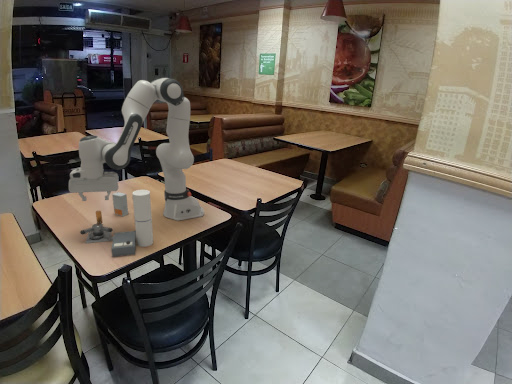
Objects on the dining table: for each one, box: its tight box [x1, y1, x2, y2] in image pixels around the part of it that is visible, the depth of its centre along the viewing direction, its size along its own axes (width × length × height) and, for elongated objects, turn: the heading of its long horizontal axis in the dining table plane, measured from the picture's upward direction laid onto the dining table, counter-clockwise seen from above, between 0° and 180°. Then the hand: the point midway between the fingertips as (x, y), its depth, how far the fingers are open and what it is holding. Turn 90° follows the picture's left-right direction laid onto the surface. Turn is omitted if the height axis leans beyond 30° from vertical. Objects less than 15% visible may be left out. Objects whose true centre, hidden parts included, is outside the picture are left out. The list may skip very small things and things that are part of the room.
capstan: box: [79, 210, 113, 240], centre depth 142 cm, size 13×12×10 cm
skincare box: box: [111, 191, 129, 217], centre depth 163 cm, size 6×4×12 cm
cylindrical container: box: [132, 189, 154, 248], centre depth 135 cm, size 7×7×25 cm
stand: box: [84, 230, 137, 258], centre depth 137 cm, size 22×24×6 cm
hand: (95, 200), depth 142 cm, fingers open, 8 cm apart
